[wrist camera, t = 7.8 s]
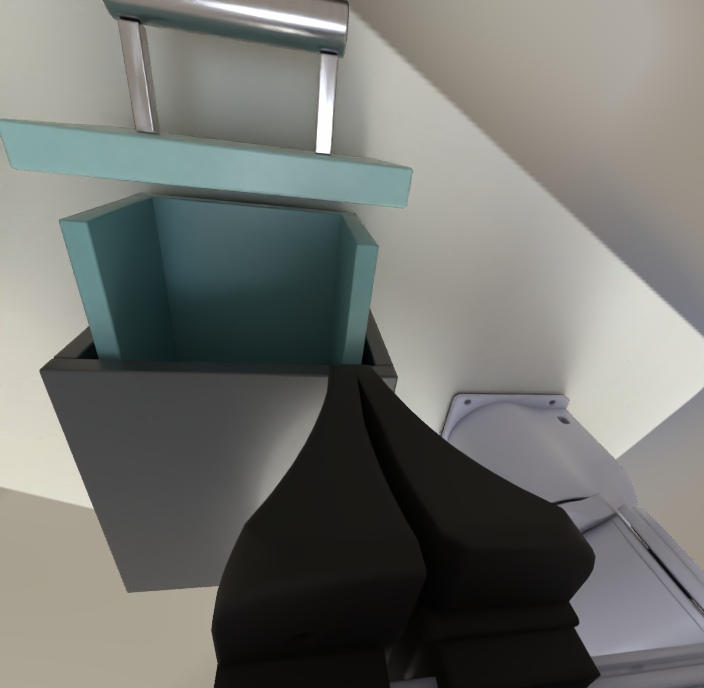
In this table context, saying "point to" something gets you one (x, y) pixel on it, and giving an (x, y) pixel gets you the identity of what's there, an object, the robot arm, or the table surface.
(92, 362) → the compartment
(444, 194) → the table surface
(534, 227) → the table surface
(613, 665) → the robot arm
